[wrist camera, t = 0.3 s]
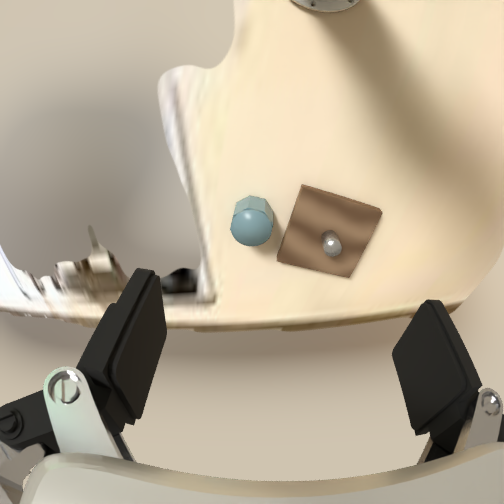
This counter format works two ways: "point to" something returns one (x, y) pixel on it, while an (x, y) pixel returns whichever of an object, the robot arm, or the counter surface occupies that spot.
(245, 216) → the cap
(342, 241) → the brown flat square piece
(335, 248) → the post
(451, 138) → the counter surface
